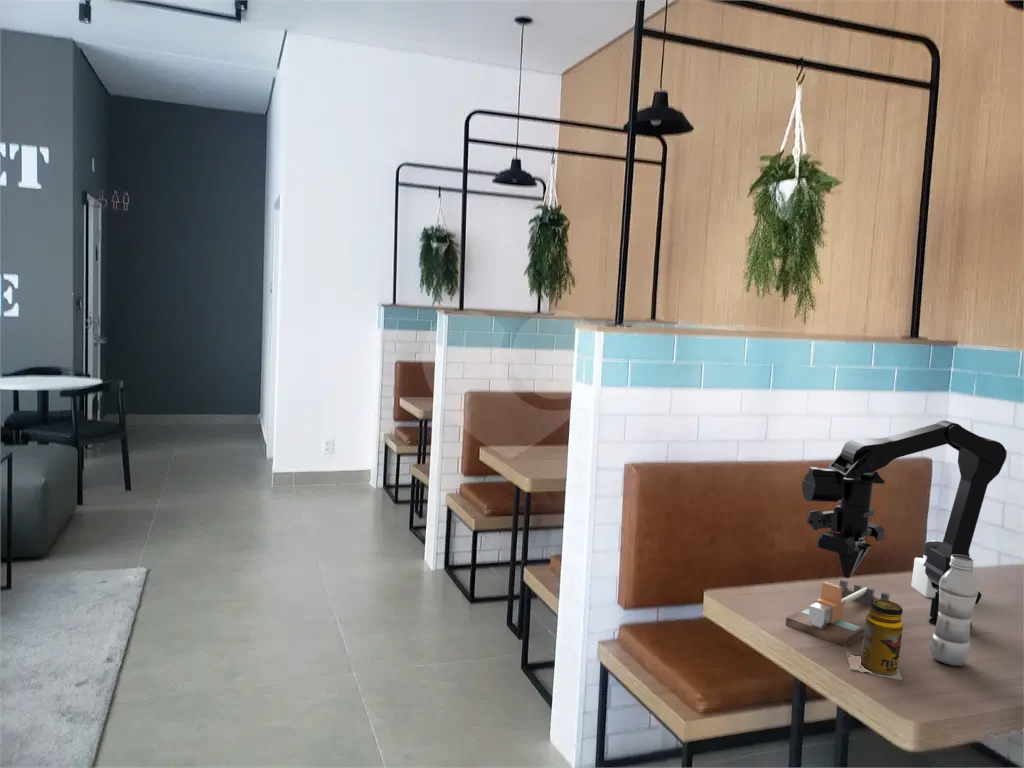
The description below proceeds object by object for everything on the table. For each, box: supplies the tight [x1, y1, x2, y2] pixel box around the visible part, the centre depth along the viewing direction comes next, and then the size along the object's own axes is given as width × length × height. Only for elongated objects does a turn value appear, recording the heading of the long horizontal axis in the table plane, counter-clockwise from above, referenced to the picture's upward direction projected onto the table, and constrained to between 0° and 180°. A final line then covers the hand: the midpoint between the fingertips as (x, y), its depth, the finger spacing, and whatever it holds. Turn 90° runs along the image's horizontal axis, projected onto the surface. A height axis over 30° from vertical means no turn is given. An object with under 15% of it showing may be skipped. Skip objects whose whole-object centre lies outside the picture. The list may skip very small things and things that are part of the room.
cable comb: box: [839, 578, 890, 606], centre depth 170 cm, size 10×1×4 cm, turn 44°
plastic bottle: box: [929, 554, 980, 667], centre depth 145 cm, size 6×7×20 cm
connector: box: [808, 601, 832, 629], centre depth 155 cm, size 3×3×4 cm
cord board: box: [785, 597, 870, 647], centre depth 163 cm, size 12×23×2 cm, turn 134°
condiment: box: [845, 599, 904, 681], centre depth 142 cm, size 7×8×12 cm
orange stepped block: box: [815, 581, 845, 623], centre depth 158 cm, size 4×5×7 cm
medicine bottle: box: [910, 539, 943, 599], centre depth 182 cm, size 7×7×12 cm
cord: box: [843, 587, 868, 604], centre depth 163 cm, size 1×20×1 cm, turn 134°
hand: (846, 577), depth 162 cm, fingers closed
